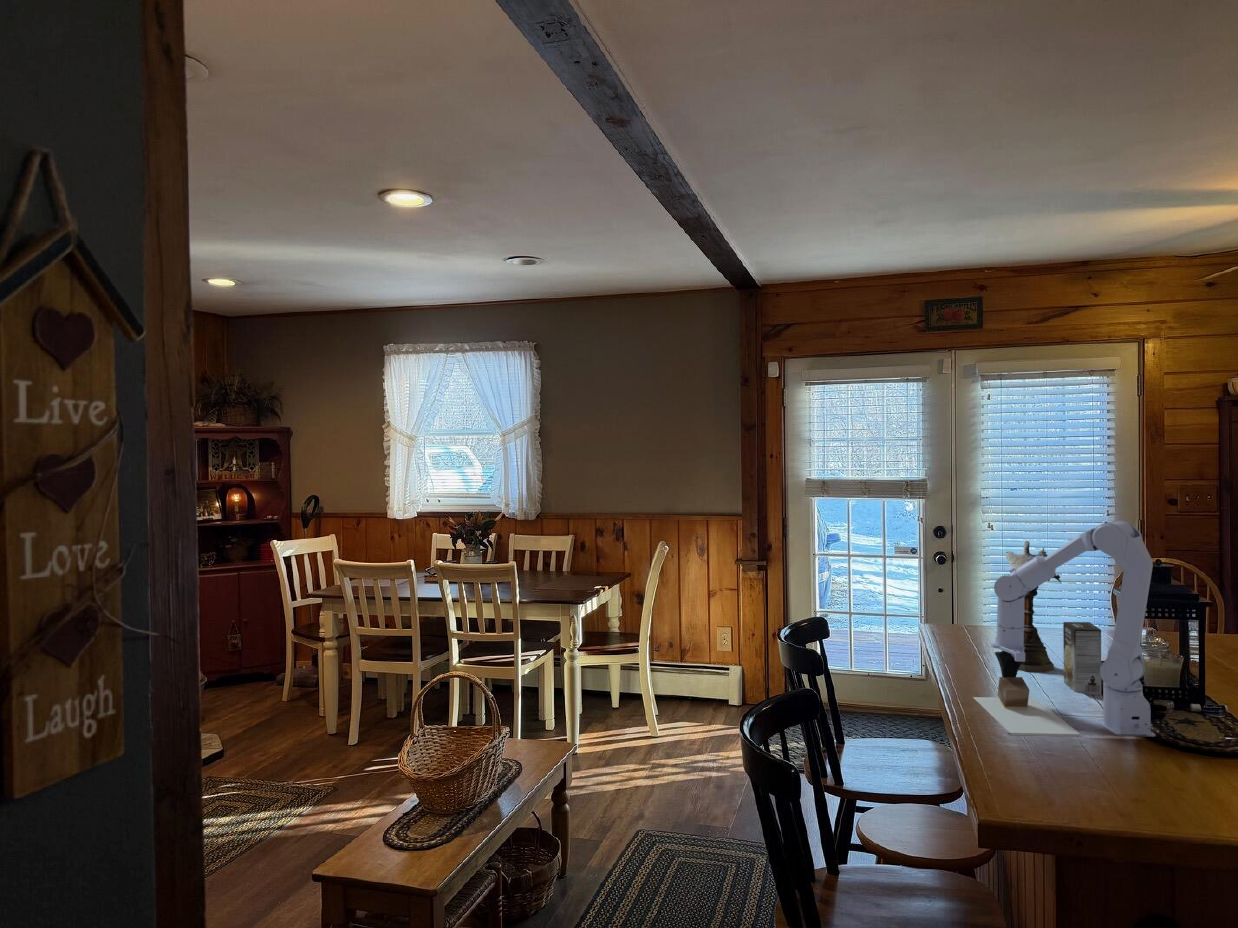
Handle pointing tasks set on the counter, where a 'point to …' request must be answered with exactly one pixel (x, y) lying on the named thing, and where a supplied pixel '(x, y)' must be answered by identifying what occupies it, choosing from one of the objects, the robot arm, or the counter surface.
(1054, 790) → the counter surface
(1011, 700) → the flip block
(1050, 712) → the mat
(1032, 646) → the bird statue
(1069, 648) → the coffee box
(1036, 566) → the robot arm
